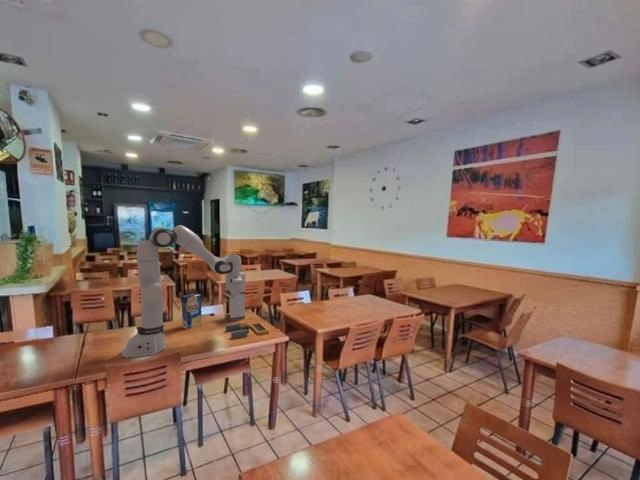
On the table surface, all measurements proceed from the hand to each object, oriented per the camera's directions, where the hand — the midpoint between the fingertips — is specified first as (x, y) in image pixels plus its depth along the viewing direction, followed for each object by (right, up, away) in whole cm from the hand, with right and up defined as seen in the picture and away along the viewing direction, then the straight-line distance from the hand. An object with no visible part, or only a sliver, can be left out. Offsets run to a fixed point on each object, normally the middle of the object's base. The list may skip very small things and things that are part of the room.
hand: (233, 298), depth 208 cm
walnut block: (+6, -24, +6) cm, 26 cm away
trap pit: (+15, -24, +11) cm, 30 cm away
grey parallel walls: (+1, -24, +3) cm, 24 cm away
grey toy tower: (-8, -22, +34) cm, 42 cm away
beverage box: (-34, -22, +15) cm, 43 cm away
